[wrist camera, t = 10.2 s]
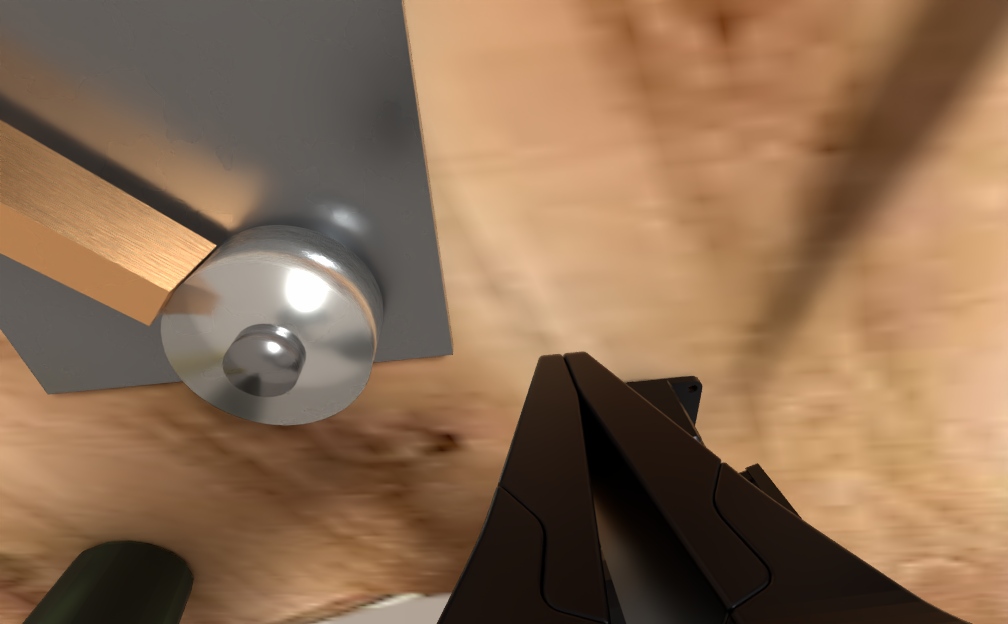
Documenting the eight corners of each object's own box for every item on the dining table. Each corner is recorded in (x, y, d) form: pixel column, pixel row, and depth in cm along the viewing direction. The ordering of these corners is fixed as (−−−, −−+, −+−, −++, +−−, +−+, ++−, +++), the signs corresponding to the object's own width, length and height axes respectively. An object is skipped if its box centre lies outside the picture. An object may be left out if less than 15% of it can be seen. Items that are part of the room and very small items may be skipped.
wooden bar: (417, 292, 20) (408, 353, 17) (328, 397, 23) (304, 469, 19) (-215, -117, 13) (-481, -166, 9) (-244, 109, 15) (-462, 139, 12)
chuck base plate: (453, 344, 23) (452, 355, 22) (60, 382, 23) (46, 395, 22) (353, -351, 12) (346, -376, 11) (-424, -314, 11) (-486, -336, 11)
